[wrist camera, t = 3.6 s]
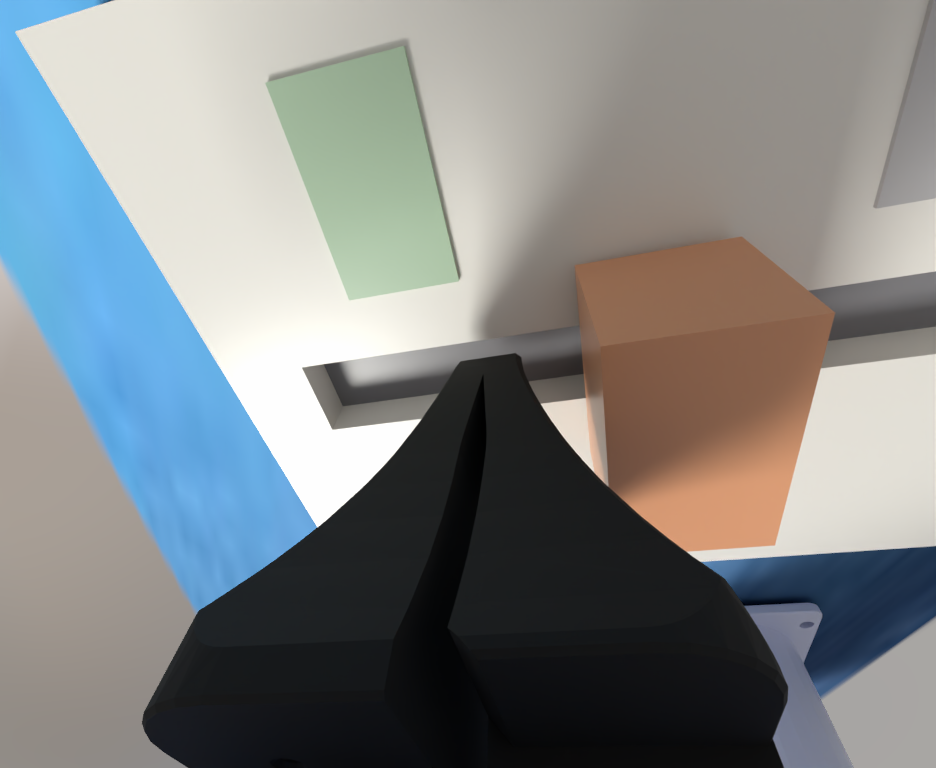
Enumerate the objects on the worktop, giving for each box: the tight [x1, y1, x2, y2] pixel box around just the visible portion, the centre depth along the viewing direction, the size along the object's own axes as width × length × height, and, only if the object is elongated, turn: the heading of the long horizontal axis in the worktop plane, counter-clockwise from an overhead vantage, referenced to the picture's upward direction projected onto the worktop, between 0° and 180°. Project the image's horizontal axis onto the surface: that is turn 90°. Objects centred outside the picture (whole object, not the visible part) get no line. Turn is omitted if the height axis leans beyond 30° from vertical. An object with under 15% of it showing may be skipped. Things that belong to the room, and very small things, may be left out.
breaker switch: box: [575, 236, 835, 552], centre depth 9 cm, size 5×3×4 cm, turn 12°
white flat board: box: [16, 0, 936, 562], centre depth 11 cm, size 16×20×2 cm
